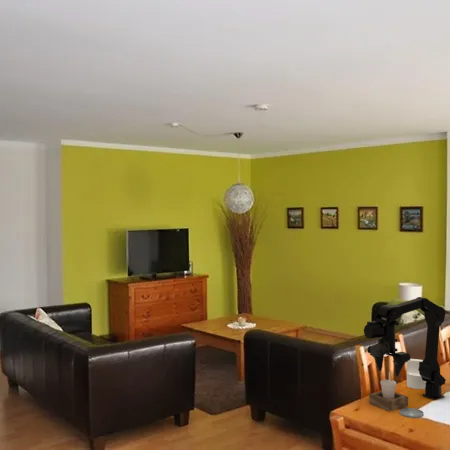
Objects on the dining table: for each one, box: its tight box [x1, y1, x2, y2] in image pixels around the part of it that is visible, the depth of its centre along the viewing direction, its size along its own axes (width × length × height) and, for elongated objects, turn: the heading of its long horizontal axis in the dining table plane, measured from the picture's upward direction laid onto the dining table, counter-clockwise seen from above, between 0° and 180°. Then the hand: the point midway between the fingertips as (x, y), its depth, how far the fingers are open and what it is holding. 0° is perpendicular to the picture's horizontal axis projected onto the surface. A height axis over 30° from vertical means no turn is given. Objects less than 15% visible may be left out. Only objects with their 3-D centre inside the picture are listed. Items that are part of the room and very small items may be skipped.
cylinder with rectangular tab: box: [406, 358, 426, 390], centre depth 249 cm, size 9×9×12 cm
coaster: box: [399, 407, 424, 419], centre depth 214 cm, size 9×9×1 cm
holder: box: [368, 390, 409, 412], centre depth 224 cm, size 11×11×4 cm
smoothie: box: [380, 371, 397, 399], centre depth 224 cm, size 6×6×14 cm
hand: (388, 373), depth 224 cm, fingers open, 9 cm apart
